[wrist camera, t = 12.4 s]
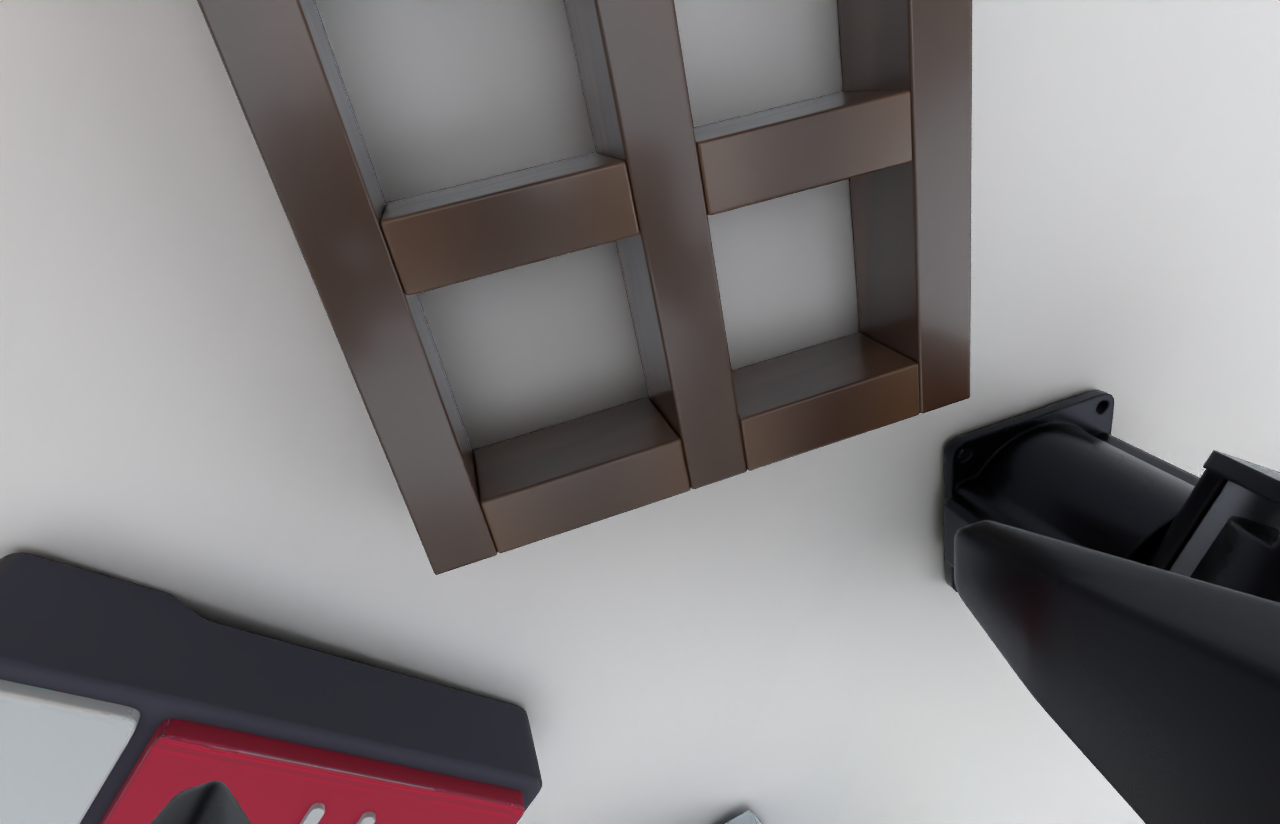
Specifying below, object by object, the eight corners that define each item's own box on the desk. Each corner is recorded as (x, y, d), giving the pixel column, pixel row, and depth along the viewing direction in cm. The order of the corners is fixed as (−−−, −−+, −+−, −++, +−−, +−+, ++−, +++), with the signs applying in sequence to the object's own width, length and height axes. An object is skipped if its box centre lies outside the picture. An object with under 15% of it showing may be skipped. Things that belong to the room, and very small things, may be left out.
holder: (884, -250, 16) (976, -321, 13) (907, 364, 23) (971, 398, 20) (175, -136, 14) (115, -195, 11) (433, 515, 20) (434, 576, 18)
